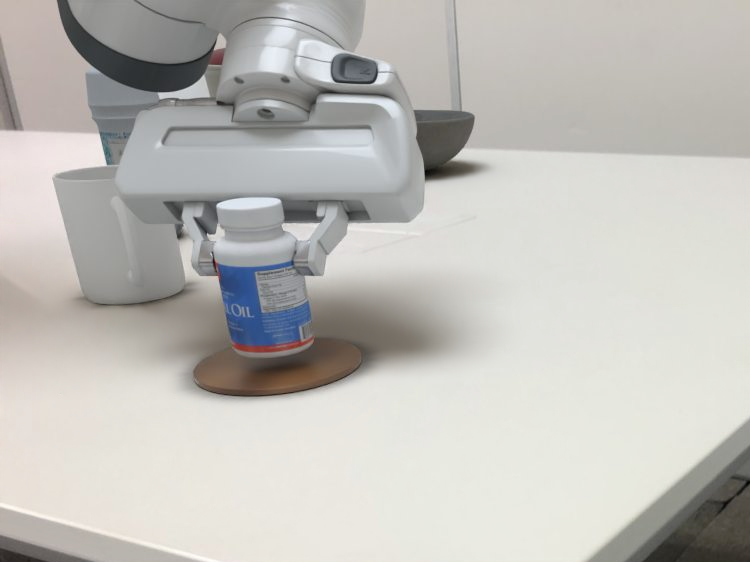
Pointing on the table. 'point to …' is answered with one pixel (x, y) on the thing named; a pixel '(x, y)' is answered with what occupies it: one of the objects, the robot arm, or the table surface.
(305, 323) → the pill bottle
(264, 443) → the table surface
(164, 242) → the cup
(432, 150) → the bowl
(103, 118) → the bottle
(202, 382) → the coaster
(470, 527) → the table surface
